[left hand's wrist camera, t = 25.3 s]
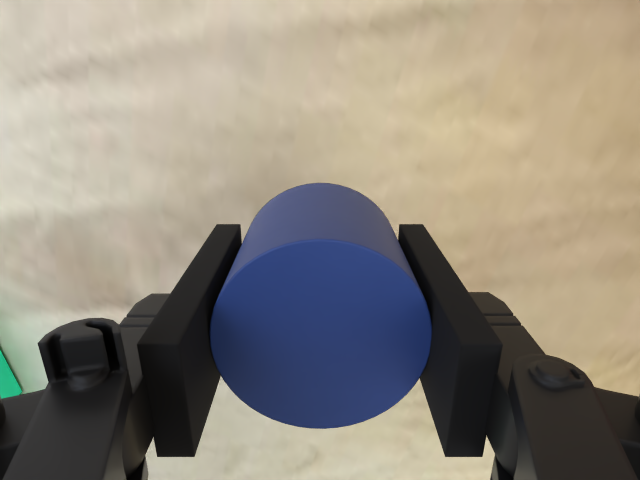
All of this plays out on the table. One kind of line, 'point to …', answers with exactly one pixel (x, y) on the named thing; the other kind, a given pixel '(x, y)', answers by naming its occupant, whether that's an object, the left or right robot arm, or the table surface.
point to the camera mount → (7, 380)
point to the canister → (320, 312)
